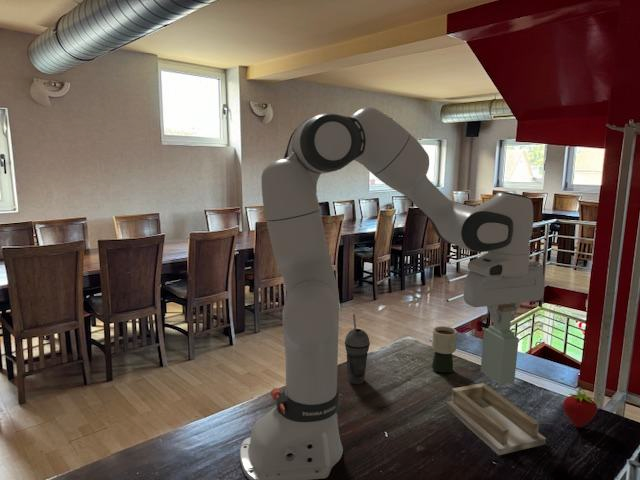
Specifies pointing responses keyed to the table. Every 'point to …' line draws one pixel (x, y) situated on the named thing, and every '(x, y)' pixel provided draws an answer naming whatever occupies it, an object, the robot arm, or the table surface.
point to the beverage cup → (356, 354)
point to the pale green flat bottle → (500, 348)
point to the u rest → (494, 419)
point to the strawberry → (580, 409)
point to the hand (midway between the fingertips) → (502, 320)
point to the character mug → (443, 348)
